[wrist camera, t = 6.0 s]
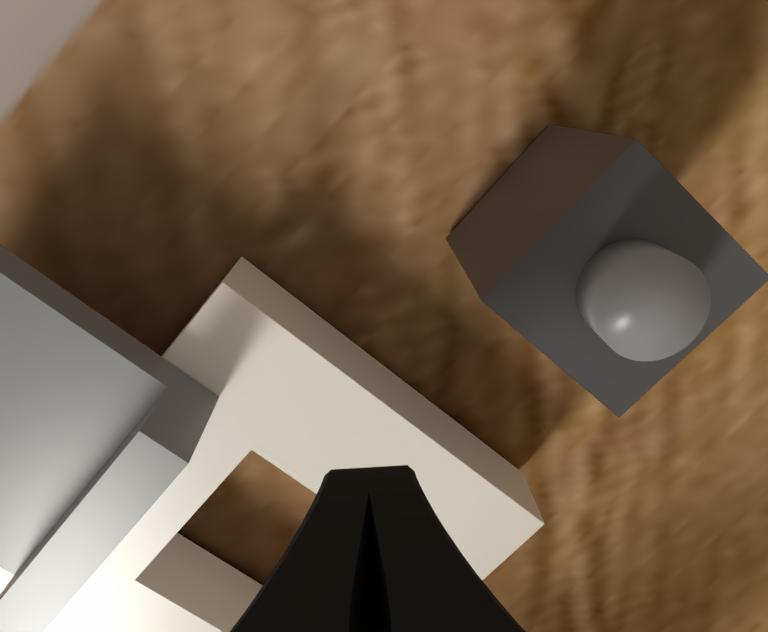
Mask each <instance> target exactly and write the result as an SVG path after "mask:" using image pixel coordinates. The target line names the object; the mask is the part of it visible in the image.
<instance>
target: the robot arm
mask: <svg viewBox="0 0 768 632" xmlns="http://www.w3.org/2000/svg"><path fill="white" fill-rule="evenodd" d="M230 632H526V631H525V630H524V629H523V628H522V627H521V626H520V625H519V624H518V623H517V622H516V621H515V620H514V618H513V617H512V616H511V615H510V614H509V613H508V612H507V610H506V609H505V608H504V607H503V606H502V604H501V603H500V602H499V601H498V600H497V599H496V597H495V596H494V595H493V594H492V592H491V591H490V590H489V589H488V587H487V586H486V585H485V584H484V582H483V581H482V580H481V579H480V577H479V576H478V575H477V573H476V572H475V571H474V570H473V568H472V567H471V565H470V564H469V563H468V561H467V560H466V559H465V557H464V556H463V555H462V553H461V552H460V550H459V549H458V547H457V546H456V544H455V543H454V541H453V540H452V538H451V537H450V535H449V534H448V533H447V531H446V530H445V528H444V526H443V525H442V523H441V522H440V520H439V519H438V517H437V515H436V514H435V512H434V510H433V508H432V507H431V505H430V503H429V501H428V500H427V498H426V496H425V494H424V492H423V490H422V488H421V486H420V484H419V482H418V479H417V477H416V474H415V471H414V470H413V469H411V468H410V467H409V466H408V465H400V466H383V467H366V468H349V469H332V470H330V471H329V472H328V473H327V474H326V475H325V476H324V478H323V481H322V483H321V486H320V488H319V490H318V493H317V495H316V497H315V499H314V501H313V503H312V505H311V507H310V509H309V511H308V513H307V515H306V517H305V518H304V520H303V522H302V524H301V526H300V528H299V529H298V531H297V533H296V534H295V536H294V538H293V539H292V541H291V543H290V544H289V546H288V548H287V550H286V551H285V553H284V555H283V556H282V558H281V560H280V561H279V563H278V564H277V566H276V567H275V569H274V570H273V572H272V573H271V575H270V576H269V578H268V579H267V581H266V582H265V583H264V585H263V586H262V588H261V589H260V591H259V592H258V594H257V595H256V597H255V598H254V600H253V601H252V602H251V604H250V605H249V607H248V608H247V609H246V611H245V612H244V613H243V615H242V616H241V617H240V619H239V620H238V621H237V623H236V624H235V625H234V627H233V628H232V629H231V631H230Z"/></svg>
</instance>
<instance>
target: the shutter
mask: <svg viewBox="0 0 768 632" xmlns="http://www.w3.org/2000/svg"><path fill="white" fill-rule="evenodd" d="M218 399H219V396H217V395H216V394H214V393H213V392H211V391H210V390H209V389H207V388H206V387H204V386H203V385H201V384H200V383H199V382H197V381H196V380H194V379H193V378H191V377H190V376H188V375H187V374H186V373H184V372H183V371H181V370H180V369H178V368H177V367H176V366H174V365H173V364H171V363H170V362H168V361H167V360H165V359H164V358H163V357H161V356H160V355H158V354H157V353H155V352H154V351H152V350H151V349H150V348H148V347H147V346H145V345H144V344H142V343H141V342H140V341H138V340H137V339H135V338H134V337H132V336H131V335H129V334H128V333H127V332H125V331H124V330H122V329H121V328H119V327H118V326H117V325H115V324H114V323H112V322H111V321H109V320H108V319H106V318H105V317H104V316H102V315H101V314H99V313H98V312H96V311H95V310H94V309H92V308H91V307H89V306H88V305H86V304H85V303H83V302H82V301H81V300H79V299H78V298H76V297H75V296H73V295H72V294H70V293H69V292H68V291H66V290H65V289H63V288H62V287H60V286H59V285H58V284H56V283H55V282H53V281H52V280H50V279H49V278H47V277H46V276H45V275H43V274H42V273H40V272H39V271H37V270H36V269H35V268H33V267H32V266H30V265H29V264H27V263H26V262H24V261H23V260H22V259H20V258H19V257H17V256H16V255H14V254H13V253H12V252H10V251H9V250H7V249H6V248H4V247H3V246H1V245H0V567H1V568H2V569H4V570H6V571H8V572H10V573H11V574H13V575H14V576H13V577H12V579H11V580H10V582H9V583H8V584H7V586H6V587H5V589H4V590H3V591H2V593H1V594H0V632H43V631H44V630H45V629H46V628H47V626H48V625H49V624H50V623H51V622H52V621H53V620H54V618H55V617H56V616H57V615H58V614H59V613H60V611H61V610H62V609H63V608H64V607H65V606H66V605H67V603H68V602H69V601H70V600H71V599H72V598H73V596H74V595H75V594H76V593H77V592H78V591H79V589H80V588H81V587H82V586H83V585H84V584H85V583H86V581H87V580H88V579H89V578H90V577H91V576H92V574H93V573H94V572H95V571H96V570H97V569H98V568H99V566H100V565H101V564H102V563H103V562H104V561H105V559H106V558H107V557H108V556H109V555H110V554H111V553H112V551H113V550H114V549H115V548H116V547H117V546H118V544H119V543H120V542H121V541H122V540H123V539H124V537H125V536H126V535H127V534H128V533H129V532H130V531H131V529H132V528H133V527H134V526H135V525H136V524H137V522H138V521H139V520H140V519H141V518H142V517H143V516H144V514H145V513H146V512H147V511H148V510H149V509H150V507H151V506H152V505H153V504H154V503H155V502H156V500H157V499H158V498H159V497H160V496H161V495H162V494H163V492H164V491H165V490H166V489H167V488H168V487H169V485H170V484H171V483H172V482H173V481H174V480H175V479H176V477H177V476H178V475H179V474H180V473H181V472H182V470H183V469H184V468H185V467H186V466H187V465H188V463H189V461H190V459H191V457H192V455H193V453H194V451H195V449H196V446H197V444H198V442H199V440H200V438H201V436H202V434H203V431H204V429H205V427H206V425H207V423H208V421H209V418H210V416H211V414H212V412H213V410H214V408H215V406H216V403H217V401H218Z"/></svg>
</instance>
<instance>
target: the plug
mask: <svg viewBox="0 0 768 632" xmlns="http://www.w3.org/2000/svg"><path fill="white" fill-rule="evenodd" d="M446 240H447V241H448V243H449V245H450V246H451V248H452V250H453V252H454V253H455V255H456V257H457V259H458V260H459V262H460V264H461V265H462V267H463V269H464V271H465V272H466V274H467V276H468V278H469V279H470V281H471V283H472V284H473V286H474V288H475V290H476V291H477V293H478V295H479V297H480V298H481V300H482V301H483V302H484V303H485V304H486V305H487V306H489V307H490V308H491V309H492V310H493V311H494V312H496V313H497V314H498V315H499V316H500V317H501V318H503V319H504V320H505V321H506V322H507V323H509V324H510V325H511V326H512V327H513V328H514V329H516V330H517V331H518V332H519V333H520V334H521V335H523V336H524V337H525V338H526V339H527V340H528V341H530V342H531V343H532V344H533V345H534V346H535V347H537V348H538V349H539V350H540V351H541V352H543V353H544V354H545V355H546V356H547V357H548V358H550V359H551V360H552V361H553V362H554V363H555V364H557V365H558V366H559V367H560V368H561V369H562V370H564V371H565V372H566V373H567V374H568V375H570V376H571V377H572V378H573V379H574V380H575V381H577V382H578V383H579V384H580V385H581V386H582V387H584V388H585V389H586V390H587V391H588V392H589V393H591V394H592V395H593V396H594V397H595V398H596V399H598V400H599V401H600V402H601V403H602V404H604V405H605V406H606V407H607V408H608V409H609V410H611V411H612V412H613V413H614V414H615V415H616V416H618V417H620V416H621V415H622V414H623V413H625V412H626V411H627V410H628V409H629V408H630V407H631V406H632V405H633V404H634V403H635V402H636V401H638V400H639V399H640V398H641V397H642V396H643V395H644V394H645V393H646V392H647V391H648V390H650V389H651V388H652V387H653V386H654V385H655V384H656V383H657V382H658V381H659V380H660V379H662V378H663V377H664V376H665V375H666V374H667V373H668V372H669V371H670V370H671V369H672V368H673V367H675V366H676V365H677V364H678V363H679V362H680V361H681V360H682V359H683V358H684V357H685V356H687V355H688V354H689V353H690V352H691V351H692V350H693V349H694V348H695V347H696V346H697V345H699V344H700V343H701V342H702V341H703V340H704V339H705V338H706V337H707V336H708V335H709V334H710V333H712V332H713V331H714V330H715V329H716V328H717V327H718V326H719V325H720V324H721V323H722V322H724V321H725V320H726V319H727V318H728V317H729V316H730V315H731V314H732V313H733V312H734V311H736V310H737V309H738V308H739V307H740V306H741V305H742V304H743V303H744V302H745V301H746V300H747V299H749V298H750V297H751V296H752V295H753V294H754V293H755V292H756V291H757V290H758V289H759V288H761V287H762V286H763V285H764V284H765V283H766V282H767V281H768V274H767V273H766V272H765V271H764V270H763V269H762V268H761V266H760V265H759V264H758V263H757V262H756V261H755V260H754V259H753V258H752V257H751V256H750V255H749V254H748V253H747V252H746V251H745V250H744V249H743V248H742V247H741V246H740V245H739V244H738V243H737V242H736V241H735V240H734V239H733V238H732V237H731V236H730V235H729V234H728V233H727V231H726V230H725V229H724V228H723V227H722V226H721V225H720V224H719V223H718V222H717V221H716V220H715V219H714V218H713V217H712V216H711V215H710V214H709V213H708V212H707V211H706V210H705V209H704V208H703V207H702V206H701V205H700V204H699V203H698V202H697V201H696V200H695V199H694V198H693V196H692V195H691V194H690V193H689V192H688V191H687V190H686V189H685V188H684V187H683V186H682V185H681V184H680V183H679V182H678V181H677V180H676V179H675V178H674V177H673V176H672V175H671V174H670V173H669V172H668V171H667V170H666V169H665V168H664V167H663V166H662V165H661V164H660V163H659V161H658V160H657V159H656V158H655V157H654V156H653V155H652V154H651V153H650V152H649V151H648V150H647V149H646V148H645V147H644V146H643V145H642V144H641V143H640V142H639V141H638V140H637V139H635V138H629V137H623V136H617V135H612V134H606V133H600V132H594V131H588V130H582V129H576V128H570V127H564V126H558V125H552V124H549V125H548V126H547V127H546V128H545V129H544V130H543V131H542V132H541V133H540V135H539V136H538V137H537V138H536V139H535V140H534V141H533V142H532V143H531V144H530V146H529V147H528V148H527V149H526V150H525V151H524V152H523V153H522V154H521V156H520V157H519V158H518V159H517V160H516V161H515V162H514V163H513V164H512V166H511V167H510V168H509V169H508V170H507V171H506V172H505V173H504V174H503V176H502V177H501V178H500V179H499V180H498V181H497V182H496V183H495V184H494V185H493V187H492V188H491V189H490V190H489V191H488V192H487V193H486V194H485V195H484V197H483V198H482V199H481V200H480V201H479V202H478V203H477V204H476V205H475V207H474V208H473V209H472V210H471V211H470V212H469V213H468V214H467V215H466V216H465V218H464V219H463V220H462V221H461V222H460V223H459V224H458V225H457V226H456V228H455V229H454V230H453V231H452V232H451V233H450V234H449V235H448V236H447V238H446Z"/></svg>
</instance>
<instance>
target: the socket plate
mask: <svg viewBox="0 0 768 632" xmlns="http://www.w3.org/2000/svg"><path fill="white" fill-rule="evenodd" d="M161 357H163V358H164V359H165V360H167V361H168V362H170V363H171V364H173V365H174V366H176V367H177V368H178V369H180V370H181V371H183V372H184V373H186V374H187V375H188V376H190V377H191V378H193V379H194V380H196V381H197V382H199V383H200V384H201V385H203V386H204V387H206V388H207V389H209V390H210V391H211V392H213V393H214V394H216V395H217V396H219V399H218V401H217V403H216V406H215V408H214V410H213V412H212V414H211V416H210V418H209V421H208V423H207V425H206V427H205V429H204V431H203V434H202V436H201V438H200V440H199V442H198V444H197V446H196V449H195V451H194V453H193V455H192V457H191V459H190V461H189V463H188V465H187V466H186V467H185V468H184V469H183V470H182V472H181V473H180V474H179V475H178V476H177V477H176V479H175V480H174V481H173V482H172V483H171V484H170V485H169V487H168V488H167V489H166V490H165V491H164V492H163V494H162V495H161V496H160V497H159V498H158V499H157V500H156V502H155V503H154V504H153V505H152V506H151V507H150V509H149V510H148V511H147V512H146V513H145V514H144V516H143V517H142V518H141V519H140V520H139V521H138V522H137V524H136V525H135V526H134V527H133V528H132V529H131V531H130V532H129V533H128V534H127V535H126V536H125V537H124V539H123V540H122V541H121V542H120V543H119V544H118V546H117V547H116V548H115V549H114V550H113V551H112V553H111V554H110V555H109V556H108V557H107V558H106V559H105V561H104V562H103V563H102V564H101V565H100V566H99V568H98V569H97V570H96V571H95V572H94V573H93V574H92V576H91V577H90V578H89V579H88V580H87V581H86V583H85V584H84V585H83V586H82V587H81V588H80V589H79V591H78V592H77V593H76V594H75V595H74V596H73V598H72V599H71V600H70V601H69V602H68V603H67V605H66V606H65V607H64V608H63V609H62V610H61V611H60V613H59V614H58V615H57V616H56V617H55V618H54V620H53V621H52V622H51V623H50V624H49V625H48V626H47V628H46V629H45V630H44V631H43V632H230V631H231V629H232V628H233V627H234V625H235V624H236V623H237V621H238V620H239V619H240V617H241V616H242V615H243V613H244V612H245V611H246V609H247V608H248V607H249V605H250V604H251V602H252V601H253V600H254V598H255V597H256V595H257V594H258V592H259V591H260V589H261V588H262V586H263V585H261V584H259V583H258V582H256V581H255V580H253V579H251V578H250V577H248V576H247V575H245V574H243V573H242V572H240V571H238V570H237V569H235V568H234V567H232V566H230V565H229V564H227V563H225V562H224V561H222V560H221V559H219V558H217V557H216V556H214V555H213V554H211V553H209V552H208V551H206V550H204V549H203V548H201V547H200V546H198V545H196V544H195V543H193V542H192V541H190V540H188V539H187V538H185V537H183V536H182V535H180V534H179V533H177V532H178V531H179V530H180V529H181V528H182V527H183V526H184V524H185V523H186V522H187V521H188V520H189V519H190V518H191V517H192V515H193V514H194V513H195V512H196V511H197V510H198V509H199V508H200V506H201V505H202V504H203V503H204V502H205V501H206V500H207V499H208V498H209V496H210V495H211V494H212V493H213V492H214V491H215V490H216V489H217V487H218V486H219V485H220V484H221V483H222V482H223V481H224V480H225V478H226V477H227V476H228V475H229V474H230V473H231V472H232V471H233V470H234V468H235V467H236V466H237V465H238V464H239V463H240V462H241V461H242V459H243V458H244V457H245V456H246V455H247V454H248V453H249V452H250V451H251V450H253V451H254V452H256V453H257V454H259V455H260V456H262V457H263V458H265V459H266V460H267V461H269V462H270V463H272V464H273V465H275V466H276V467H278V468H279V469H281V470H282V471H284V472H285V473H287V474H288V475H290V476H291V477H292V478H294V479H295V480H297V481H298V482H300V483H301V484H303V485H304V486H306V487H307V488H309V489H310V490H312V491H313V492H314V493H316V494H317V493H318V490H319V488H320V486H321V483H322V481H323V478H324V476H325V475H326V474H327V473H328V472H329V471H330V470H332V469H349V468H366V467H383V466H400V465H408V466H409V467H410V468H411V469H413V470H414V471H415V474H416V477H417V479H418V482H419V484H420V486H421V488H422V490H423V492H424V494H425V496H426V498H427V500H428V501H429V503H430V505H431V507H432V508H433V510H434V512H435V514H436V515H437V517H438V519H439V520H440V522H441V523H442V525H443V526H444V528H445V530H446V531H447V533H448V534H449V535H450V537H451V538H452V540H453V541H454V543H455V544H456V546H457V547H458V549H459V550H460V552H461V553H462V555H463V556H464V557H465V559H466V560H467V561H468V563H469V564H470V565H471V567H472V568H473V570H474V571H475V572H476V573H477V575H478V576H479V577H480V579H481V580H483V579H485V578H486V577H487V576H488V575H489V574H490V573H491V572H492V571H493V570H494V569H496V568H497V567H498V566H499V565H500V564H501V563H502V562H503V561H504V560H505V559H507V558H508V557H509V556H510V555H511V554H512V553H513V552H514V551H515V550H517V549H518V548H519V547H520V546H521V545H522V544H523V543H524V542H525V541H526V540H528V539H529V538H530V537H531V536H532V535H533V534H534V533H535V532H536V531H537V530H539V529H540V528H541V527H542V526H543V525H544V521H543V519H542V517H541V514H540V512H539V510H538V507H537V505H536V503H535V500H534V498H533V496H532V493H531V491H530V488H529V486H528V484H527V481H526V479H525V477H524V474H523V473H522V472H521V471H520V470H518V469H517V468H516V467H515V466H513V465H512V464H511V463H509V462H508V461H507V460H505V459H504V458H503V457H502V456H500V455H499V454H498V453H496V452H495V451H494V450H492V449H491V448H490V447H489V446H487V445H486V444H485V443H483V442H482V441H481V440H479V439H478V438H477V437H476V436H474V435H473V434H472V433H470V432H469V431H468V430H466V429H465V428H464V427H463V426H461V425H460V424H459V423H457V422H456V421H455V420H454V419H452V418H451V417H450V416H448V415H447V414H446V413H444V412H443V411H442V410H441V409H439V408H438V407H437V406H435V405H434V404H433V403H431V402H430V401H429V400H428V399H426V398H425V397H424V396H422V395H421V394H420V393H418V392H417V391H416V390H415V389H413V388H412V387H411V386H409V385H408V384H407V383H405V382H404V381H403V380H402V379H400V378H399V377H398V376H396V375H395V374H394V373H393V372H391V371H390V370H389V369H387V368H386V367H385V366H383V365H382V364H381V363H380V362H378V361H377V360H376V359H374V358H373V357H372V356H370V355H369V354H368V353H367V352H365V351H364V350H363V349H361V348H360V347H359V346H357V345H356V344H355V343H354V342H352V341H351V340H350V339H348V338H347V337H346V336H344V335H343V334H342V333H341V332H339V331H338V330H337V329H335V328H334V327H333V326H332V325H330V324H329V323H328V322H326V321H325V320H324V319H322V318H321V317H320V316H319V315H317V314H316V313H315V312H313V311H312V310H311V309H309V308H308V307H307V306H306V305H304V304H303V303H302V302H300V301H299V300H298V299H296V298H295V297H294V296H293V295H291V294H290V293H289V292H287V291H286V290H285V289H283V288H282V287H281V286H280V285H278V284H277V283H276V282H274V281H273V280H272V279H270V278H269V277H268V276H267V275H265V274H264V273H263V272H261V271H260V270H259V269H258V268H256V267H255V266H254V265H252V264H251V263H250V262H248V261H247V260H246V259H245V258H243V257H242V256H241V258H240V259H239V260H238V261H237V263H236V264H235V265H234V266H233V268H232V269H231V270H230V271H229V273H228V274H227V275H226V276H225V278H224V279H223V280H222V281H221V283H220V284H219V285H218V286H217V288H216V289H215V290H214V291H213V293H212V294H211V295H210V296H209V298H208V299H207V300H206V301H205V303H204V304H203V305H202V306H201V308H200V309H199V310H198V311H197V313H196V314H195V315H194V316H193V318H192V319H191V320H190V321H189V323H188V324H187V325H186V326H185V327H184V329H183V330H182V331H181V332H180V334H179V335H178V336H177V337H176V339H175V340H174V341H173V342H172V344H171V345H170V346H169V347H168V349H167V350H166V351H165V352H164V354H163V355H162V356H161ZM13 576H14V575H13V574H11V573H10V572H8V571H6V570H4V569H2V568H1V567H0V594H1V593H2V591H3V590H4V589H5V587H6V586H7V584H8V583H9V582H10V580H11V579H12V577H13Z"/></svg>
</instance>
